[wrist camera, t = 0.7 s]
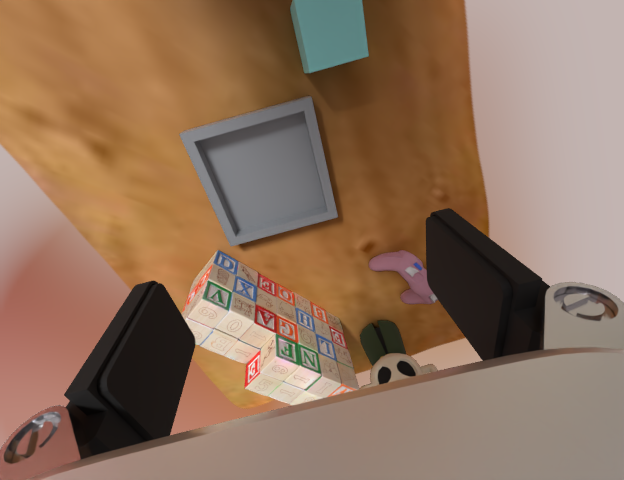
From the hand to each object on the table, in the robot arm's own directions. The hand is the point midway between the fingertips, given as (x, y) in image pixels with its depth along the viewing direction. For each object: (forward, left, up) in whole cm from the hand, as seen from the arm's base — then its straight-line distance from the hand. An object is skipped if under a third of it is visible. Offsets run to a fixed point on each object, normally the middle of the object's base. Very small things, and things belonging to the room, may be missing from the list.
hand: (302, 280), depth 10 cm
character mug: (+32, +6, -24) cm, 41 cm away
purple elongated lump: (+21, +11, -24) cm, 34 cm away
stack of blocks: (+21, -8, -24) cm, 33 cm away
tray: (+3, -3, -24) cm, 24 cm away
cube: (-8, +6, -24) cm, 26 cm away
